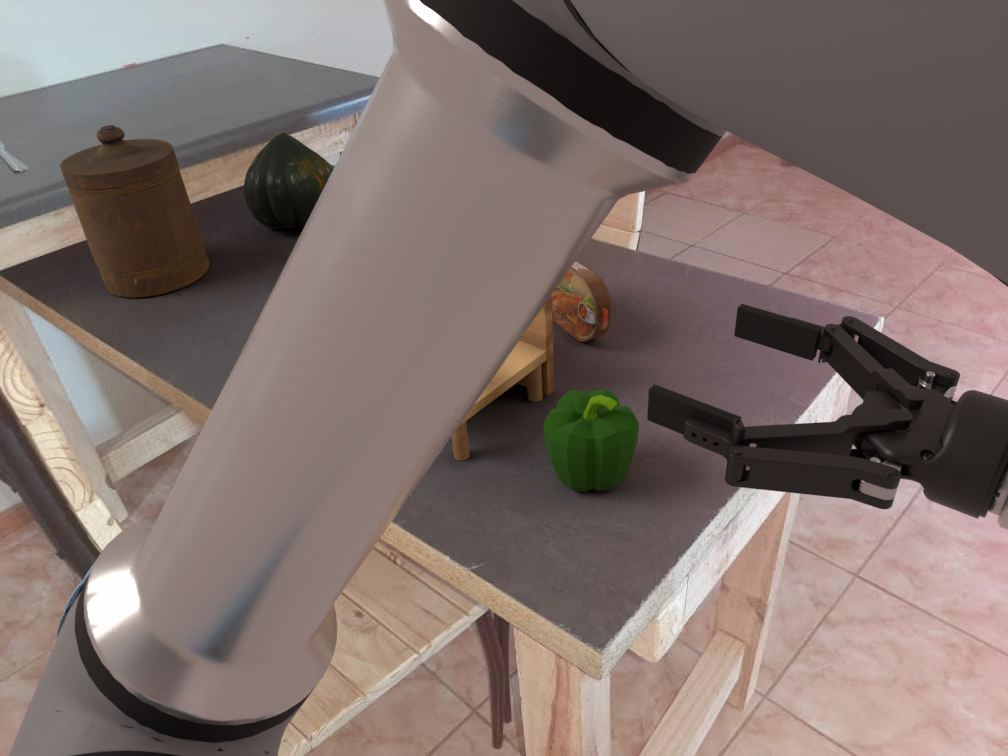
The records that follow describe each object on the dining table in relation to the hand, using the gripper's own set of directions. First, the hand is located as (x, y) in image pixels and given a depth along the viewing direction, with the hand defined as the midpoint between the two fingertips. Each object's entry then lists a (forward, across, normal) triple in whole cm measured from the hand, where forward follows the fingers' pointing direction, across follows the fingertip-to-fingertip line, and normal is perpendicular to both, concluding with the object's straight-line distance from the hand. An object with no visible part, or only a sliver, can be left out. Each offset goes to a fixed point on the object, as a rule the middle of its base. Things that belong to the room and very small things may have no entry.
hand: (696, 358), depth 59 cm
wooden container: (+87, -1, -17) cm, 88 cm away
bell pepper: (+10, 0, -17) cm, 20 cm away
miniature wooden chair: (+28, +1, -17) cm, 33 cm away
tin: (+28, +22, -17) cm, 39 cm away
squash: (+84, +23, -17) cm, 89 cm away
